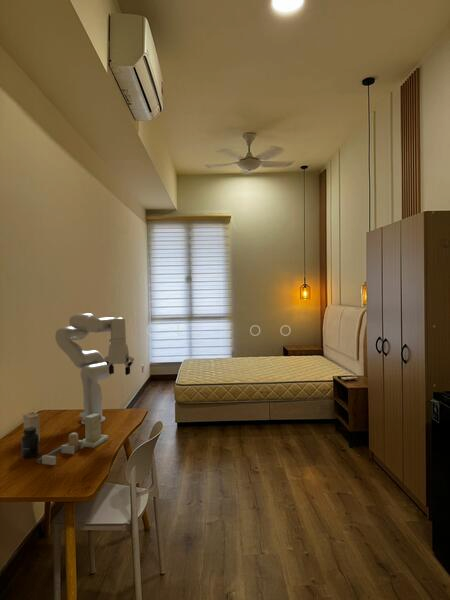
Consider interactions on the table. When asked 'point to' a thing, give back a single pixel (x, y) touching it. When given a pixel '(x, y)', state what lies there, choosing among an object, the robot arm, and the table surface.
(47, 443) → the table surface
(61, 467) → the table surface
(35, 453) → the supplement bottle
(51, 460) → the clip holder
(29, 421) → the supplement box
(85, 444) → the tray
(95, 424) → the skincare box
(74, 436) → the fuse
